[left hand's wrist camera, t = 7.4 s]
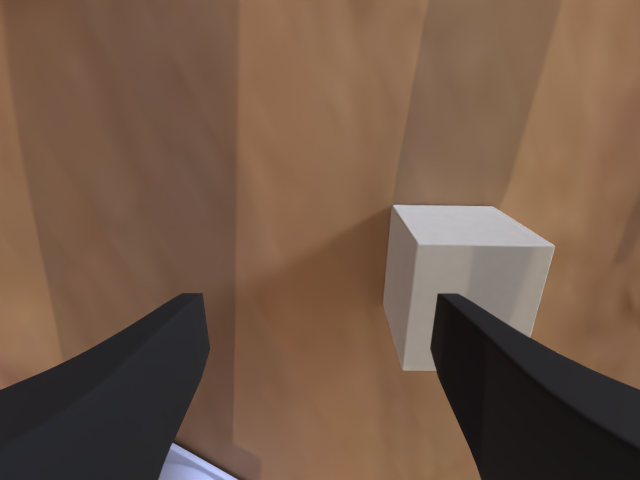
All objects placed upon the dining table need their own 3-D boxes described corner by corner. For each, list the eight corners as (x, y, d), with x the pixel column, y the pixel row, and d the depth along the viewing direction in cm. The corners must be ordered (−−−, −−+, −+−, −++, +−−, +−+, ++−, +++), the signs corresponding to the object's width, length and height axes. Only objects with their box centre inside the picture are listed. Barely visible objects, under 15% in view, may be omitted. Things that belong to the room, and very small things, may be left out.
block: (382, 305, 18) (402, 370, 14) (391, 204, 16) (417, 243, 12) (473, 306, 18) (521, 372, 14) (493, 205, 16) (556, 245, 12)
